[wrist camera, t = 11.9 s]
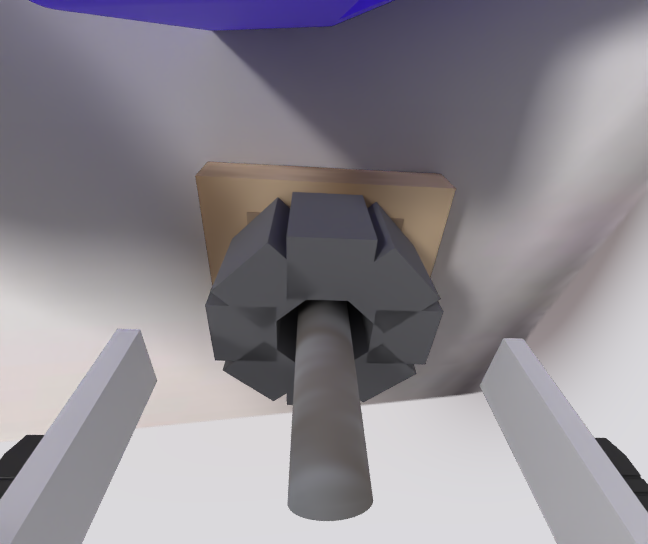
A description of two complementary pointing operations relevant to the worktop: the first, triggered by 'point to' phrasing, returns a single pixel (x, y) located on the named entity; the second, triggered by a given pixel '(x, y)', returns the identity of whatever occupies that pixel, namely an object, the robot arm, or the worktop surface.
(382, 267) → the dark grey gear
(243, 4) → the bracket
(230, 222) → the peg base board
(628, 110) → the worktop surface
